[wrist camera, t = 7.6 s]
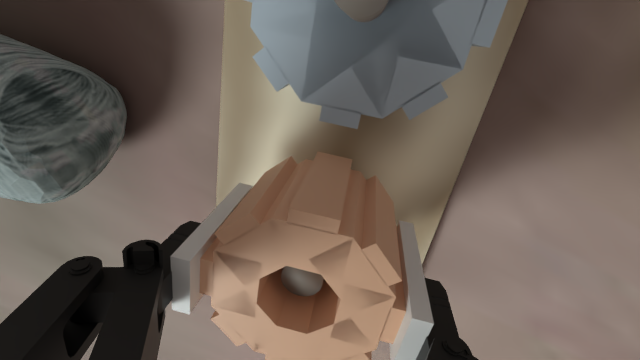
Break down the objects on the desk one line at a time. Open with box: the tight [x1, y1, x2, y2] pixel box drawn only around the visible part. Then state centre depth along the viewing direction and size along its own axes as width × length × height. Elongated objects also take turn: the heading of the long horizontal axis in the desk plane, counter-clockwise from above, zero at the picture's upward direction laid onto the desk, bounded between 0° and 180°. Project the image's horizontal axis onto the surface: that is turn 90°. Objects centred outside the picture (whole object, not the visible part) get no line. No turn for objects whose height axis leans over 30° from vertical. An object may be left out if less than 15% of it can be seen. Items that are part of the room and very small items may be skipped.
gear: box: [245, 0, 508, 129], centre depth 14 cm, size 10×10×3 cm
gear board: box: [216, 0, 528, 296], centre depth 15 cm, size 14×24×8 cm, turn 170°
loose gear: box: [199, 152, 406, 360], centre depth 15 cm, size 8×8×6 cm
